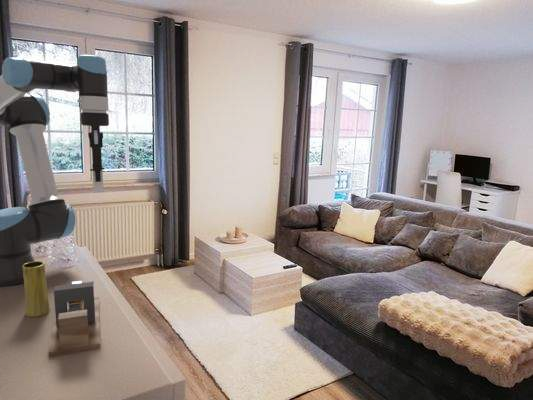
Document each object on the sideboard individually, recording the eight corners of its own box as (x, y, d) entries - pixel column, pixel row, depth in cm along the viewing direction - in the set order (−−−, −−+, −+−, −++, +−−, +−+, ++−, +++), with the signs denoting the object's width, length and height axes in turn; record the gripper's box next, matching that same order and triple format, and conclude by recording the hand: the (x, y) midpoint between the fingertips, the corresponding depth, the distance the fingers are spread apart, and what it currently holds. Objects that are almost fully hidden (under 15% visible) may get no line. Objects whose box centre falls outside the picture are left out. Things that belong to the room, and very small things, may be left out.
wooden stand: (58, 306, 116) (55, 277, 114) (98, 300, 120) (97, 272, 118) (48, 357, 91) (45, 321, 90) (100, 347, 96) (98, 313, 94)
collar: (57, 322, 103) (54, 286, 101) (95, 316, 107) (93, 281, 105) (56, 327, 100) (53, 290, 98) (95, 321, 104) (93, 286, 102)
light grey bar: (72, 290, 115) (71, 281, 114) (83, 289, 116) (82, 280, 115) (67, 327, 95) (66, 316, 94) (80, 325, 96) (80, 314, 95)
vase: (38, 318, 108) (34, 269, 106) (19, 315, 110) (14, 266, 107) (54, 308, 114) (51, 261, 112) (36, 305, 116) (32, 259, 113)
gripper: (80, 111, 119) (85, 188, 124) (79, 111, 108) (84, 196, 112) (107, 112, 122) (111, 187, 127) (109, 112, 111) (112, 195, 115)
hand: (98, 191), depth 120 cm, fingers closed
